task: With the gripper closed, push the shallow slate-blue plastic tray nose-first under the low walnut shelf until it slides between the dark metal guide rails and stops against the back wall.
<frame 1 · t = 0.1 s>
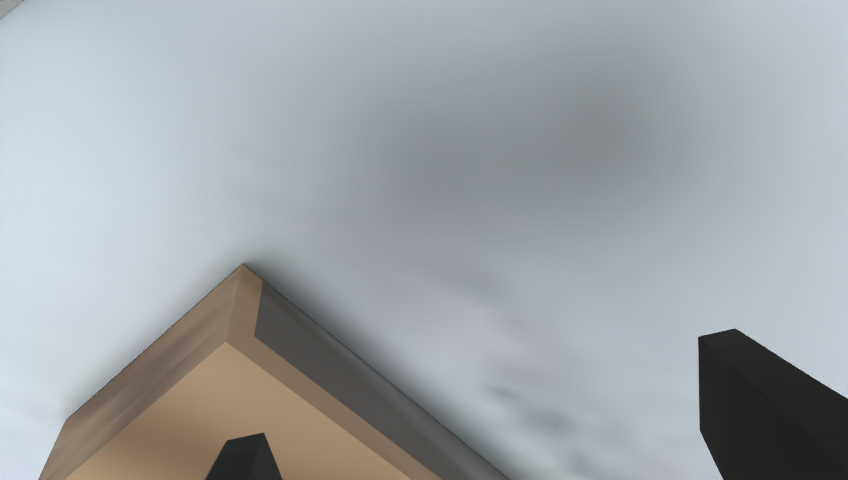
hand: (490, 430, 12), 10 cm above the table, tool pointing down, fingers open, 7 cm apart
low shelf: (336, 476, 26), on the table
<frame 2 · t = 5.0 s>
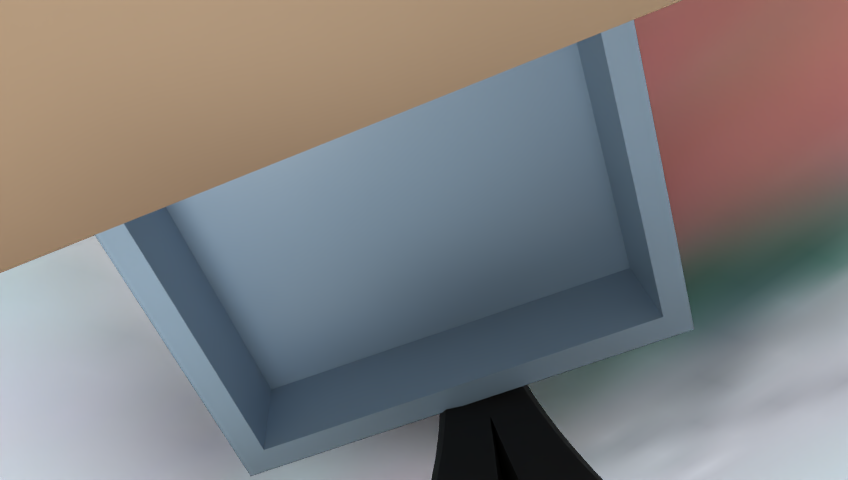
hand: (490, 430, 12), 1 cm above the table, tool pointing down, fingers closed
tray: (367, 124, 11), on the table, touching gripper
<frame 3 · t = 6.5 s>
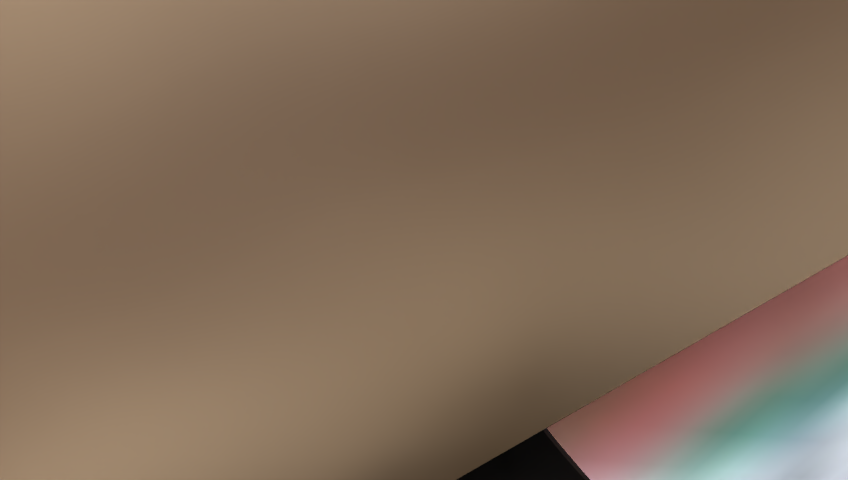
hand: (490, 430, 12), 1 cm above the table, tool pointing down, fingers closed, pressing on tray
low shelf: (239, 119, 10), on the table
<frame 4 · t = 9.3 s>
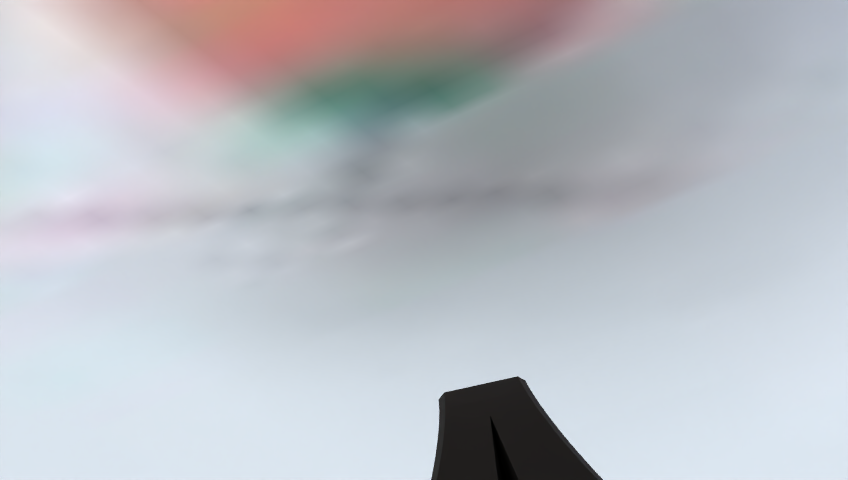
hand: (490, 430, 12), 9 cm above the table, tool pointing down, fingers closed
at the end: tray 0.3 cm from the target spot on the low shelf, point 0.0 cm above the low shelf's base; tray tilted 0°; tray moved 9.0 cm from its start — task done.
